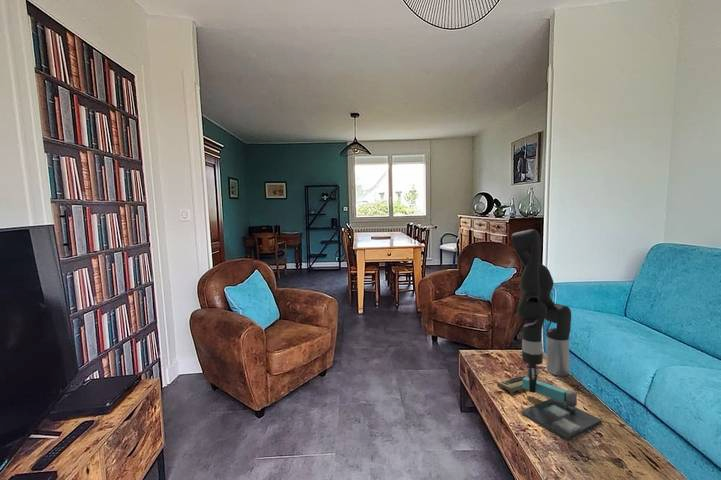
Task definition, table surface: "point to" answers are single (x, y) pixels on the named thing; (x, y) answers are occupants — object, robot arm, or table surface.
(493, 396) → the table surface
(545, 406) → the board
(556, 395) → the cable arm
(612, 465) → the table surface
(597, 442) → the table surface
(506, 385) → the computer
